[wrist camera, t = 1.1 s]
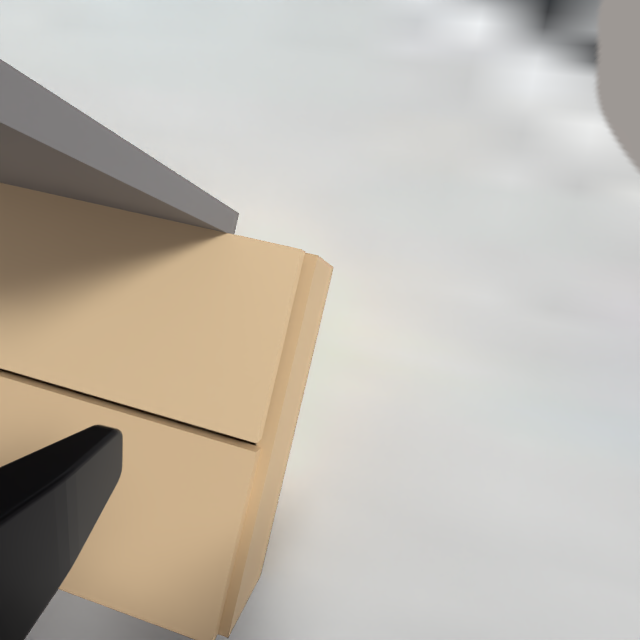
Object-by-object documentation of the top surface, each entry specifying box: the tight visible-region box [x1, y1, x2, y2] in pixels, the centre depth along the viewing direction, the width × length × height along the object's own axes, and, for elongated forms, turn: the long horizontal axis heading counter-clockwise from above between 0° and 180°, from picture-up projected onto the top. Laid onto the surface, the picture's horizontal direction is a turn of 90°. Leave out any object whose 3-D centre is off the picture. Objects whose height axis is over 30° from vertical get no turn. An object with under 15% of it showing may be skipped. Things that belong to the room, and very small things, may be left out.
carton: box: [0, 253, 333, 640], centre depth 19 cm, size 14×18×5 cm
